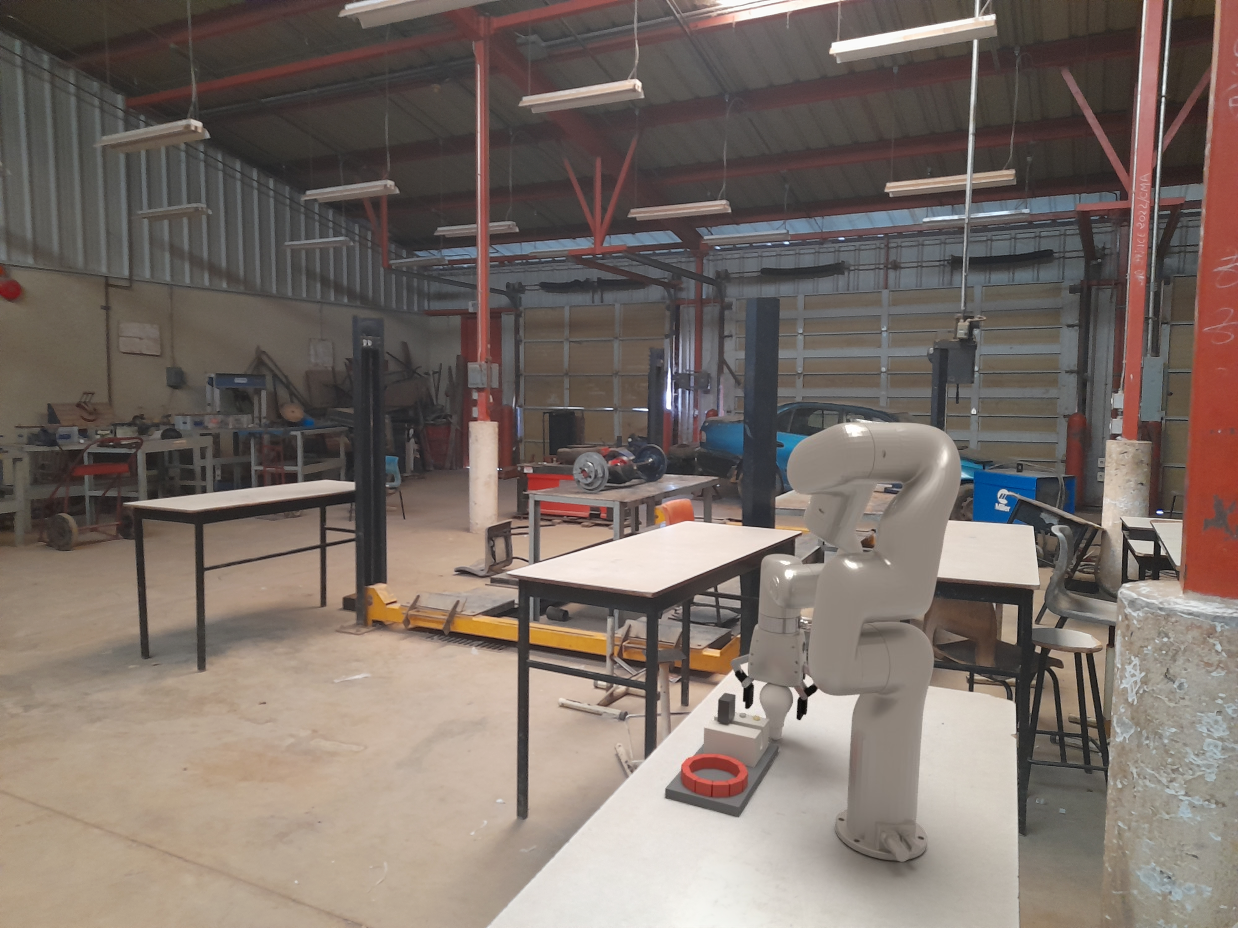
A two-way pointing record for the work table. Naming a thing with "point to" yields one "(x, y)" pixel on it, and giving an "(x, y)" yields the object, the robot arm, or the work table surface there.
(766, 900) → the work table surface
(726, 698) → the block
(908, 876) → the work table surface
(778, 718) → the lightbulb
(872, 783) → the robot arm
